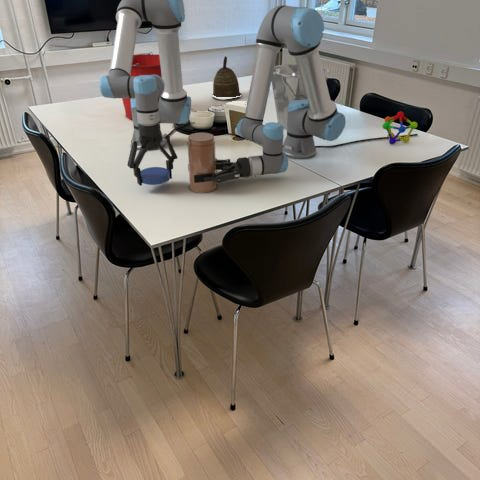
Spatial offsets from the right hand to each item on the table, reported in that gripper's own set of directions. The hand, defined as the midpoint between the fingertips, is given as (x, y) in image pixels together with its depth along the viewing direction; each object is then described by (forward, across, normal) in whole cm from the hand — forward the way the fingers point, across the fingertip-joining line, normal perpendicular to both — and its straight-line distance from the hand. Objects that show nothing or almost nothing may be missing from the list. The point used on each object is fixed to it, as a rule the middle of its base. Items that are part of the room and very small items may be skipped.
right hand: (191, 173), depth 164 cm
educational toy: (-103, +22, -6) cm, 106 cm away
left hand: (+13, +4, -3) cm, 14 cm away
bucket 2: (-68, +60, -6) cm, 91 cm away
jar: (-4, 0, -6) cm, 7 cm away
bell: (-49, +126, -6) cm, 135 cm away
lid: (+13, +4, 0) cm, 14 cm away
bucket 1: (+4, +101, -6) cm, 101 cm away
